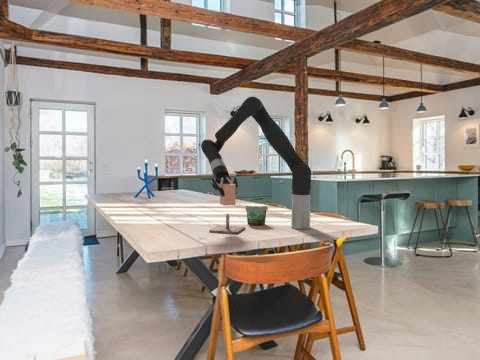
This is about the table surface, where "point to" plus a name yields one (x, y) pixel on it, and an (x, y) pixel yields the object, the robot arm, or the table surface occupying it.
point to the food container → (256, 215)
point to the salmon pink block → (228, 194)
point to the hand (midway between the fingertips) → (229, 195)
